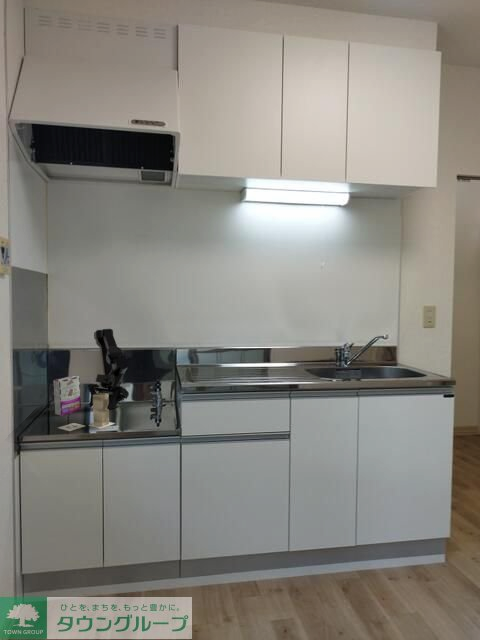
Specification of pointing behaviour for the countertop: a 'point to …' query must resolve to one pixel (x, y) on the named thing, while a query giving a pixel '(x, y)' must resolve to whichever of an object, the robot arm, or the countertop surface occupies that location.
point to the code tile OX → (101, 426)
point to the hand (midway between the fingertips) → (98, 407)
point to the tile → (71, 426)
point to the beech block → (100, 409)
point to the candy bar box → (67, 395)
